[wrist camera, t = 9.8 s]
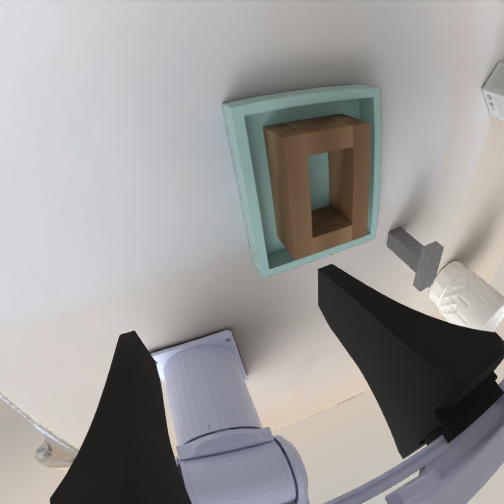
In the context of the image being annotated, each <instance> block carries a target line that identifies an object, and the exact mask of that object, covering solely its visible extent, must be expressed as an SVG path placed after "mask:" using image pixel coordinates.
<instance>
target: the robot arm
mask: <svg viewBox="0 0 504 504" xmlns="http://www.w3.org/2000/svg"><path fill="white" fill-rule="evenodd" d="M318 306H319V308H320V309H321V311H322V313H323V315H324V317H325V319H326V321H327V323H328V324H329V326H330V328H331V329H332V331H333V332H334V333H335V335H336V336H337V338H338V339H339V340H340V342H341V343H342V345H343V346H344V347H345V349H346V350H347V352H348V353H349V354H350V356H351V357H352V359H353V360H354V362H355V363H356V364H357V366H358V367H359V369H360V370H361V372H362V374H363V375H364V377H365V379H366V381H367V383H368V385H369V386H370V388H371V390H372V392H373V394H374V396H375V398H376V400H377V402H378V404H379V406H380V408H381V410H382V412H383V415H384V417H385V419H386V421H387V423H388V426H389V428H390V430H391V433H392V436H393V438H394V441H395V443H396V446H397V449H398V451H399V453H400V455H401V456H402V458H403V459H404V458H406V457H407V456H409V455H410V454H412V453H413V452H415V451H416V450H418V449H419V448H421V447H422V446H424V445H425V444H427V447H425V448H423V449H422V450H420V451H419V452H417V453H416V454H414V455H413V456H411V457H410V458H408V459H407V460H405V461H404V462H402V463H400V464H399V465H397V466H396V467H394V468H392V469H391V470H389V471H387V472H385V473H384V474H382V475H380V476H379V477H377V478H375V479H373V480H371V481H369V482H367V483H366V484H364V485H362V486H360V487H358V488H356V489H354V490H352V491H350V492H348V493H345V494H343V495H341V496H339V497H337V498H335V499H332V500H330V501H328V502H325V503H323V504H361V503H363V502H365V501H367V500H369V499H371V498H373V497H375V496H377V495H378V494H380V493H382V492H384V491H385V490H387V489H389V488H391V487H392V486H394V485H396V484H397V483H399V482H401V481H402V480H404V479H405V478H407V477H409V476H410V475H411V474H413V473H415V472H416V471H418V470H419V469H420V471H419V476H418V477H416V478H414V479H413V480H411V481H409V482H407V483H406V484H404V485H403V486H401V487H399V488H398V489H396V490H395V491H393V492H392V493H390V494H388V495H387V496H386V497H385V499H386V501H387V503H388V504H466V503H467V502H468V501H469V500H470V499H471V498H472V497H473V496H474V495H475V494H476V493H477V492H478V491H479V490H480V489H481V488H482V487H483V486H484V485H485V483H486V482H487V481H488V480H489V479H490V478H491V477H492V476H493V474H494V473H495V472H496V471H497V470H498V468H499V467H500V466H501V465H502V463H503V462H504V379H503V380H502V381H501V382H500V383H499V384H497V383H496V381H495V380H496V379H497V375H496V374H495V373H494V370H495V369H496V368H497V366H498V365H499V364H500V363H501V361H502V360H503V359H504V341H503V340H502V339H501V337H500V336H499V335H498V334H497V333H496V332H490V331H484V330H477V329H472V328H468V327H464V326H459V325H456V324H452V323H449V322H445V321H442V320H439V319H436V318H433V317H431V316H428V315H425V314H423V313H421V312H418V311H416V310H413V309H411V308H409V307H407V306H404V305H402V304H400V303H398V302H396V301H394V300H392V299H390V298H389V297H387V296H385V295H383V294H381V293H379V292H378V291H376V290H374V289H372V288H371V287H369V286H367V285H366V284H364V283H362V282H361V281H359V280H357V279H356V278H354V277H352V276H351V275H349V274H348V273H346V272H344V271H343V270H341V269H339V268H338V267H336V266H335V265H333V264H330V265H328V266H325V267H322V268H320V269H318ZM227 338H228V339H227ZM159 376H160V377H161V379H162V380H163V381H164V383H165V384H166V390H167V395H168V401H169V406H170V411H171V416H172V420H173V425H174V430H175V434H176V439H177V443H178V446H176V449H177V453H178V457H179V460H178V458H177V457H174V454H173V451H172V447H171V444H170V439H169V435H168V429H167V422H166V416H165V409H164V402H163V394H162V387H161V382H160V378H159ZM247 381H248V378H247V375H246V372H245V370H244V367H243V364H242V361H241V358H240V356H239V353H238V350H237V347H236V344H235V341H234V338H233V335H232V332H231V331H229V330H225V331H222V332H219V333H216V334H213V335H209V336H206V337H203V338H200V339H197V340H194V341H191V342H188V343H184V344H181V345H178V346H175V347H171V348H168V349H165V350H161V351H158V352H154V353H151V354H150V353H149V351H148V350H147V348H146V347H145V345H144V344H143V342H142V341H141V339H140V338H139V336H138V335H137V333H136V332H135V331H131V332H128V333H125V334H121V335H120V336H119V339H118V342H117V346H116V349H115V353H114V356H113V360H112V363H111V367H110V370H109V373H108V377H107V380H106V383H105V387H104V390H103V393H102V396H101V399H100V402H99V405H98V408H97V410H96V413H95V416H94V418H93V421H92V423H91V426H90V428H89V431H88V433H87V435H86V437H85V439H84V442H83V444H82V446H81V448H80V450H79V452H78V454H77V456H76V458H75V460H74V461H73V463H72V465H71V467H70V469H69V470H68V472H67V474H66V476H65V477H64V479H63V480H62V482H61V483H60V485H59V486H58V488H57V489H56V491H55V492H54V494H53V495H52V496H51V498H50V504H310V503H309V498H308V492H307V489H308V479H307V474H306V470H305V467H304V464H303V461H302V459H301V457H300V455H299V453H298V451H297V450H296V448H295V447H294V445H293V444H292V443H291V442H290V441H288V440H286V439H284V438H283V437H282V436H280V435H276V436H273V435H272V433H271V431H270V428H269V427H266V428H263V427H262V424H261V422H260V419H259V417H258V414H257V412H256V409H255V407H254V404H253V402H252V399H251V397H250V394H249V391H248V389H247V386H246V384H245V383H246V382H247Z"/></svg>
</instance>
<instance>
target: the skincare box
mask: <svg viewBox="0 0 504 504" xmlns="http://www.w3.org/2000/svg"><path fill="white" fill-rule="evenodd" d="M482 91H483V94H484V97H485V100H486V103H487V106H488V109H489V113H490V116H491V117H493V118H496V119H498V120H501V121H503V122H504V62H500V61H499V62H498V64H497V66H496V67H495V69H494V71H493V72H492V74H491V75H490V77H489V79H488V80H487V82H486V83H485V85H484V86H483V88H482Z"/></svg>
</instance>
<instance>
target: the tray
mask: <svg viewBox="0 0 504 504" xmlns="http://www.w3.org/2000/svg"><path fill="white" fill-rule="evenodd" d="M222 108H223V113H224V118H225V123H226V128H227V133H228V139H229V144H230V149H231V154H232V159H233V164H234V169H235V174H236V179H237V184H238V189H239V195H240V200H241V205H242V210H243V215H244V220H245V225H246V230H247V235H248V240H249V245H250V250H251V255H252V260H253V263H254V265H255V267H256V268H257V270H258V272H259V274H260V276H261V278H262V279H263V278H266V277H269V276H272V275H275V274H278V273H280V272H283V271H286V270H289V269H292V268H295V267H298V266H300V265H303V264H306V263H309V262H312V261H314V260H317V259H320V258H323V257H326V256H328V255H331V254H334V253H337V252H339V251H342V250H345V249H348V248H350V247H353V246H356V245H358V244H361V243H364V242H367V241H369V240H372V239H375V238H376V231H377V220H378V208H379V193H380V173H381V94H380V88H378V87H373V86H368V85H363V84H354V85H340V86H329V87H319V88H310V89H302V90H294V91H287V92H280V93H274V94H268V95H262V96H257V97H251V98H246V99H241V100H236V101H232V102H227V103H222ZM335 114H345V115H348V116H351V117H354V118H357V119H360V120H363V121H365V122H368V123H370V188H369V208H368V223H367V235H366V236H364V237H362V238H359V239H356V240H353V241H350V242H348V243H345V244H342V245H339V246H336V247H333V248H330V249H328V250H325V251H322V252H319V253H316V254H313V255H310V256H307V257H304V258H302V259H299V260H296V261H295V260H294V259H293V257H292V256H291V255H290V253H289V252H288V251H287V249H286V248H285V247H284V245H283V244H282V243H281V241H280V240H279V239H278V237H277V230H276V222H275V214H274V206H273V199H272V191H271V183H270V176H269V169H268V161H267V154H266V147H265V140H264V133H263V127H265V126H270V125H275V124H280V123H285V122H291V121H296V120H302V119H308V118H314V117H321V116H328V115H335ZM308 167H309V182H310V198H311V211H312V210H316V209H319V208H323V207H326V206H330V203H329V169H328V152H326V153H321V154H316V155H311V156H308Z"/></svg>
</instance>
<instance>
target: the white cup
mask: <svg viewBox="0 0 504 504" xmlns="http://www.w3.org/2000/svg"><path fill="white" fill-rule="evenodd" d="M428 296H429V298H430V299H431V301H432V302H433V303H434V304H435V305H436V307H437V308H438V309H439V310H440V312H441V314H442V315H443V316H444V317H445V319H446V320H447V321H448V322H449V323H452V324H456V325H459V326H464V327H468V328H472V329H477V330H484V331H490V332H493V331H494V330H495V328H496V327H497V326H498V325H499V323H500V322H501V320H502V319H503V317H504V297H503V296H502V295H501V294H499V292H497V291H496V290H495V289H494V288H493V287H492V286H491V285H489V284H488V283H487V282H486V281H485V280H483V279H482V278H481V277H479V276H478V275H477V274H476V273H474V272H473V271H471V270H470V269H468V268H467V267H466V266H465V265H463V264H462V263H461V262H459V261H452V262H451V263H449V264H447V265H446V266H445V267H444V268H443V269H442V270H441V271H440V272H439V274H438V275H437V276H436V278H435V280H434V283H433V285H431V287H430V289H429V295H428Z"/></svg>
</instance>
